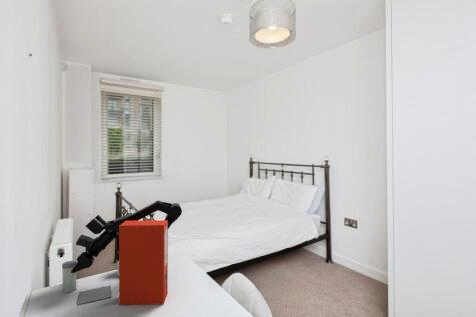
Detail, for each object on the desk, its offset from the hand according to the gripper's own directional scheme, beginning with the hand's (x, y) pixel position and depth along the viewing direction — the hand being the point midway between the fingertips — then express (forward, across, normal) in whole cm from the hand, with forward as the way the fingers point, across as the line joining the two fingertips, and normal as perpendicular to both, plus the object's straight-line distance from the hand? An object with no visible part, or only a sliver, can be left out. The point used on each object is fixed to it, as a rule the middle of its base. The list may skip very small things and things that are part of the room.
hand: (75, 267), depth 113 cm
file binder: (-14, +16, +28) cm, 35 cm away
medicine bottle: (-7, -10, +21) cm, 25 cm away
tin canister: (+8, 0, +5) cm, 10 cm away
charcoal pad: (0, +7, +14) cm, 15 cm away
